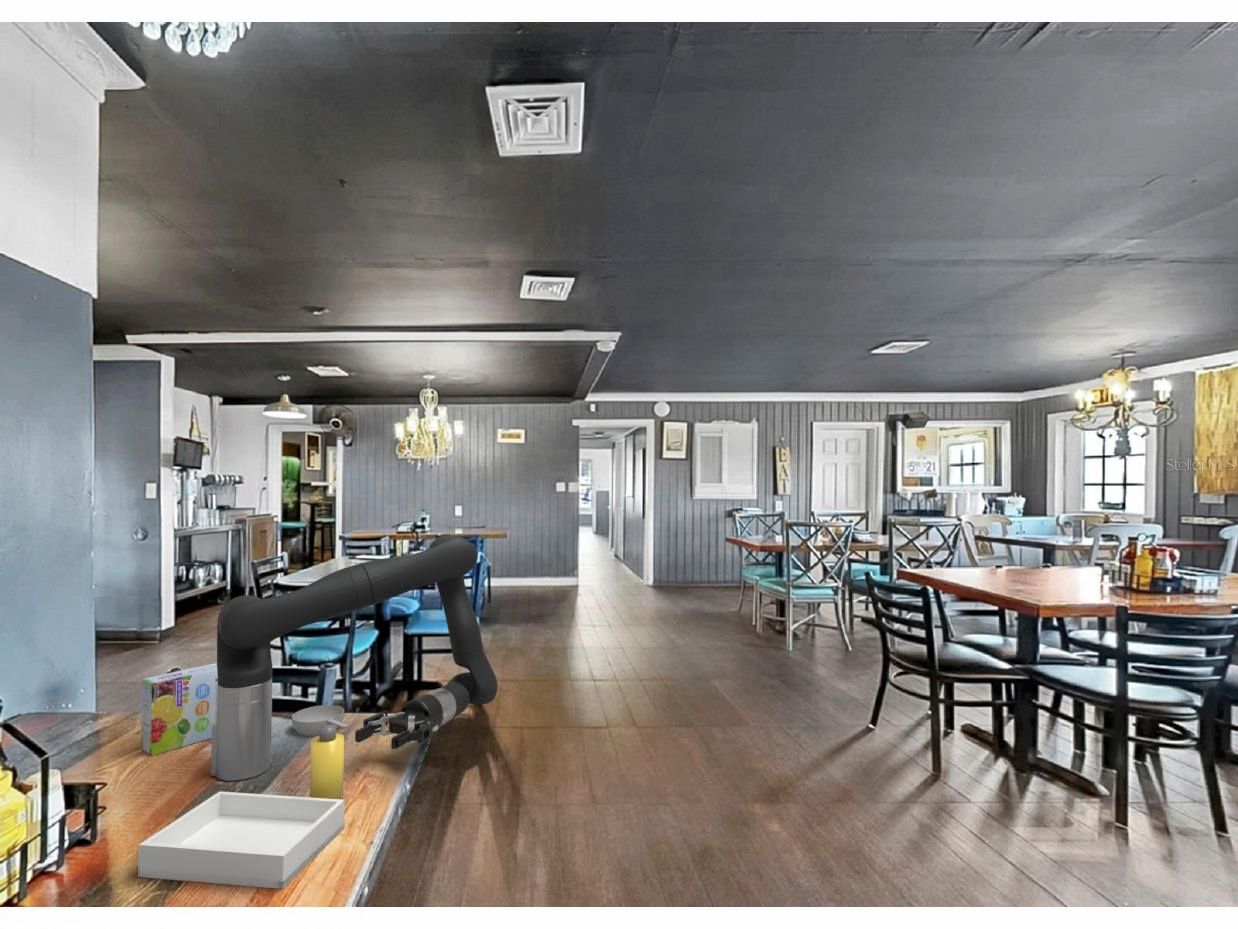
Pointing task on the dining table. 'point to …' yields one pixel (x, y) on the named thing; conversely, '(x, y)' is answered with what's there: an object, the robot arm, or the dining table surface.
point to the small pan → (317, 719)
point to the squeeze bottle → (327, 764)
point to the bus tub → (243, 840)
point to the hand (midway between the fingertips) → (374, 740)
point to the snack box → (178, 708)
